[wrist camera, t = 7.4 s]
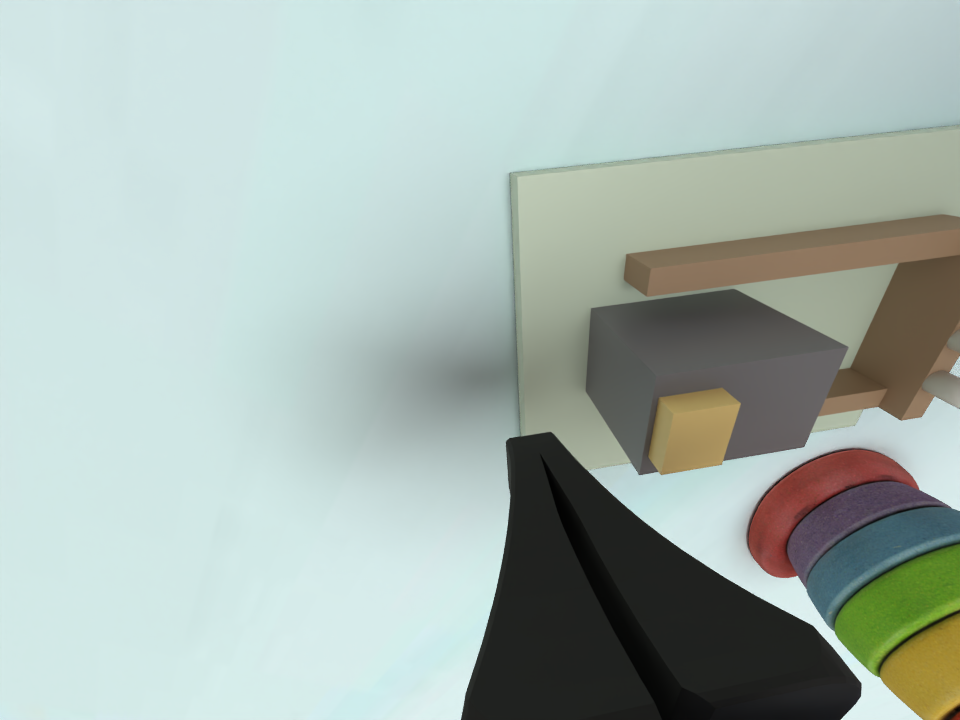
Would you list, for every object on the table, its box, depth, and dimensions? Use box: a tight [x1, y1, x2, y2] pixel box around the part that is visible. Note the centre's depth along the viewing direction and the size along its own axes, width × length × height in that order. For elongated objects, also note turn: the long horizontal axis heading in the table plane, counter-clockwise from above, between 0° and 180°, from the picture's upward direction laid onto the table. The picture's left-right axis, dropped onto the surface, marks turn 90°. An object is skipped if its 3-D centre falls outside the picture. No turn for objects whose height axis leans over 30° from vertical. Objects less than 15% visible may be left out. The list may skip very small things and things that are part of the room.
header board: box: [510, 125, 960, 470], centre depth 16 cm, size 18×14×6 cm
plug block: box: [586, 289, 849, 475], centre depth 14 cm, size 6×4×6 cm, turn 95°
